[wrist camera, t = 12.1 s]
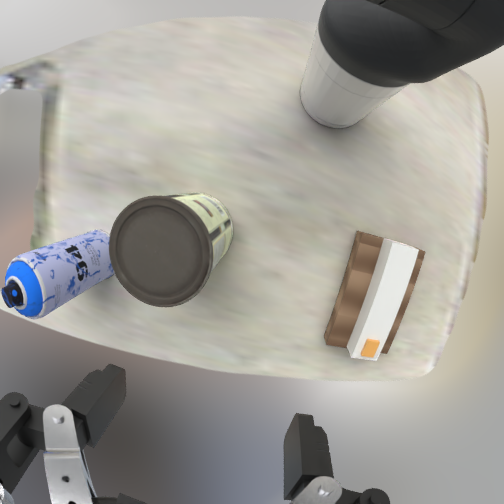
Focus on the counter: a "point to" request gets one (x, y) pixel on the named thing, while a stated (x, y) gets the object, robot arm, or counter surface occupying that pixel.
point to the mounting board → (363, 291)
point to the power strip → (382, 299)
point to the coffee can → (169, 246)
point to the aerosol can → (56, 273)
